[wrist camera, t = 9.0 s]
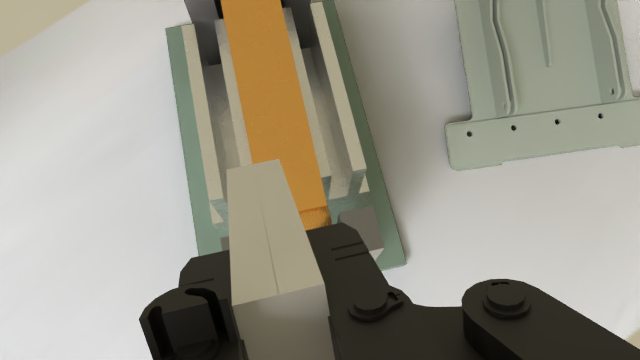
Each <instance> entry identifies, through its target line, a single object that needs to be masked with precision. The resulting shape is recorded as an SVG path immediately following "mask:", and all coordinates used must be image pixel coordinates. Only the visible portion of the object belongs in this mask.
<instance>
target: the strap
mask: <svg viewBox="0 0 640 360" xmlns="http://www.w3.org/2000/svg"><path fill="white" fill-rule="evenodd" d="M221 5H222V10H223V15H224V21H225V26H226V31H227V36H228V41H229V46H230V51H231V56H232V62H233V67H234V72H235V77H236V82H237V87H238V92H239V97H240V102H241V108H242V113H243V118H244V123H245V128H246V133H247V138H248V143H249V148H250V154H251V159H252V164H256V163H261V162H266V161H271V160H275V159H279V160H280V163H281V166H282V169H283V171H284V174H285V177H286V180H287V182H288V185H289V188H290V191H291V193H292V196H293V199H294V201H295V204H296V207H297V210H298V212H299V215H300V218H301V221H302V223H303V226H304V229H305V231H306V230H310V229H315V228H319V227H324V226H328V225H332V221H331V216H330V212H329V209H328V206H327V202H326V197H325V193H324V189H323V184H322V180H321V176H320V171H319V167H318V163H317V158H316V154H315V149H314V145H313V141H312V136H311V132H310V128H309V123H308V119H307V115H306V110H305V106H304V102H303V97H302V93H301V88H300V84H299V80H298V75H297V71H296V67H295V62H294V58H293V54H292V49H291V45H290V41H289V36H288V32H287V27H286V23H285V19H284V14H283V10H282V6H281V1H280V0H221Z"/></svg>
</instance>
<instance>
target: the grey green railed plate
mask: <svg viewBox="0 0 640 360" xmlns="http://www.w3.org/2000/svg"><path fill="white" fill-rule="evenodd" d="M319 2H322V4H323V8H324V11H325V15H326V19H327V23H328V26H329V30H330V34H331V37H332V41H333V45H334V49H335V52H336V56H337V60H338V63H339V67H340V71H341V75H342V78H343V82H344V86H345V89H346V93H347V97H348V101H349V104H350V108H351V112H352V115H353V119H354V123H355V127H356V130H357V134H358V138H359V141H360V145H361V149H362V153H363V156H364V160H365V164H366V167H367V169H366V172H365V176H366V179H367V183H368V187H369V191H370V192H369V194H368V197H367V200H366V201H362V202H357V203H353V204H348V205H343V206H339V207H334V208H329V212H330V216H331V221H332V224H337V219H338V214H339V213H340V212H344V211H349V210H354V209H358V208H363V207H368V206H372V205H373V207H374V211H375V214H376V218H377V222H378V226H379V229H380V233H381V237H382V241H383V244H384V249H383V251H382V252H381V253H380V255H379V256H378V257H377V259H376V260H375V262H376V264H377V265H378V267H379V269H380V270H381V271H382V270H387V269H391V268H396V267H400V266H404V265H405V264H407V263H406V260H405V256H404V253H403V249H402V245H401V242H400V238H399V235H398V231H397V227H396V224H395V220H394V217H393V213H392V209H391V206H390V202H389V199H388V195H387V191H386V188H385V184H384V181H383V177H382V173H381V170H380V166H379V163H378V159H377V155H376V152H375V148H374V145H373V141H372V137H371V134H370V130H369V127H368V123H367V119H366V116H365V112H364V109H363V105H362V102H361V98H360V94H359V91H358V87H357V84H356V80H355V76H354V73H353V69H352V66H351V62H350V58H349V55H348V51H347V48H346V44H345V40H344V37H343V33H342V30H341V26H340V22H339V19H338V15H337V12H336V8H335V4H334V1H333V0H325V1H319ZM314 3H316V2H314ZM188 25H191V24H188ZM182 26H185V25H182ZM165 29H166V36H167V43H168V50H169V56H170V63H171V70H172V77H173V84H174V91H175V97H176V104H177V111H178V118H179V125H180V132H181V138H182V145H183V152H184V159H185V166H186V173H187V180H188V186H189V193H190V200H191V207H192V214H193V221H194V227H195V234H196V241H197V248H198V255H199V256H203V255H207V254H211V253H216V252H220V251H222V246H221V240H220V238H222V237H227V236H229V230H225V231H221V232H219V231H218V230H217V229H216V228H215V226H214V225H213V223H212V217H211V211H210V204H209V198H208V192H207V185H206V179H205V173H204V167H203V160H202V154H201V148H200V141H199V135H198V129H197V122H196V116H195V110H194V103H193V97H192V91H191V84H190V78H189V72H188V65H187V58H186V52H185V46H184V39H183V33H182V27H181V26H177V27H171V28H165Z"/></svg>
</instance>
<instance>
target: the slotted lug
mask: <svg viewBox="0 0 640 360" xmlns="http://www.w3.org/2000/svg"><path fill="white" fill-rule="evenodd" d="M280 1H281V6H282V8H287V7H291V11H292V15H293V20H294V24H295V28H296V32H297V36H298V40H299V44H300V48H301V49H305V48H310V0H280ZM184 2H185V4H186V7H187V10H188V12H189V15H190V18H191V20H192V23H193V24H194V25H195V28H196V30H197V33H198V36H199V39H200V41H201V44H202V47H203V50H204V52H205V55H206V58H207V60H208V63H209V66H212V65H217V64H222V61H221V56H220V50H219V45H218V39H217V34H216V29H215V23H214V20H219V19H224V15H223V10H222V5H221V0H184Z"/></svg>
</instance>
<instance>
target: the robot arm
mask: <svg viewBox="0 0 640 360" xmlns="http://www.w3.org/2000/svg"><path fill="white" fill-rule="evenodd" d="M226 172H227V196H228V221H229V245H230V249H229V250H225V251H220V252H216V253H211V254H207V255H203V256H198V257H194V258H191V259H190V260H189V262H188V263H187V264H186V266H185V267H184V268H183V269H182V271H181V272H180V279H179V287H178V288H175V289H172V290H170V291H168V292H166V293H164V294H163V295H161V296H159V297H157V298H156V299H155V300H153V301H152V302H151V303H150V304H149V305H148V306H147V307H146V308H145V309H144V311H143V313H142V314H141V316H140V318H139V321H140V324H141V327H142V329H143V332H144V335H145V338H146V341H147V343H148V346H149V349H150V352H151V355H152V358H153V360H640V349H638V348H636V347H635V346H633V345H631V344H630V343H628V342H627V341H625V340H623V339H622V338H620V337H618V336H617V335H615V334H613V333H612V332H610V331H608V330H607V329H605V328H603V327H602V326H600V325H598V324H597V323H595V322H593V321H592V320H590V319H588V318H587V317H585V316H583V315H582V314H580V313H578V312H577V311H575V310H573V309H572V308H570V307H568V306H567V305H565V304H563V303H562V302H560V301H558V300H557V299H555V298H553V297H552V296H550V295H548V294H547V293H545V292H543V291H542V290H540V289H538V288H536V287H534V286H532V285H529V284H527V283H525V282H521V281H516V280H510V279H490V280H487V281H483V282H479V283H476V284H475V285H473V286H472V287H470V288H469V289H467V290H466V292H465V294H464V296H463V298H462V307H425V306H421V305H416V304H413V303H412V302H411V300H410V298H409V297H408V296H407V295H406V294H405V293H404V292H403V291H401V290H399V289H397V288H394V287H392V286H389V284H388V282H387V281H386V279H385V277H384V276H383V274H382V272H381V270H380V269H379V267H378V265H377V264H376V262H375V260H374V258H373V257H372V255H371V253H369V250H368V248H367V247H366V245H365V244H364V242H363V240H362V238H361V236H360V235H359V233H358V231H357V230H356V229H354V228H352V227H350V226H349V225H347V224H345V223H343V222H341V223H337V224H332V225H328V226H324V227H319V228H315V229H310V230H306V231H305V229H304V226H303V223H302V221H301V218H300V215H299V212H298V210H297V207H296V204H295V201H294V199H293V196H292V193H291V191H290V188H289V185H288V182H287V180H286V177H285V174H284V171H283V169H282V166H281V163H280V160H279V159H275V160H271V161H266V162H261V163H256V164H251V165H246V166H242V167H237V168H232V169H227V170H226Z"/></svg>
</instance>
